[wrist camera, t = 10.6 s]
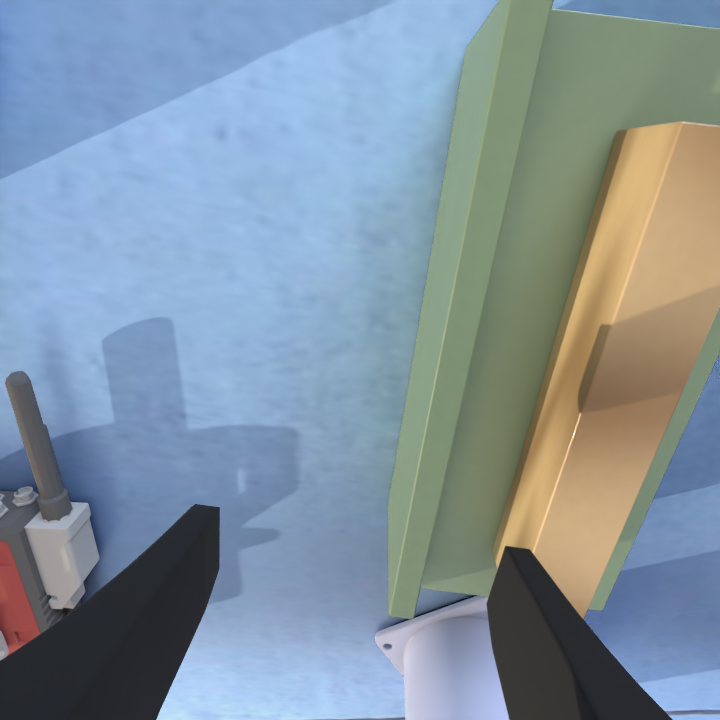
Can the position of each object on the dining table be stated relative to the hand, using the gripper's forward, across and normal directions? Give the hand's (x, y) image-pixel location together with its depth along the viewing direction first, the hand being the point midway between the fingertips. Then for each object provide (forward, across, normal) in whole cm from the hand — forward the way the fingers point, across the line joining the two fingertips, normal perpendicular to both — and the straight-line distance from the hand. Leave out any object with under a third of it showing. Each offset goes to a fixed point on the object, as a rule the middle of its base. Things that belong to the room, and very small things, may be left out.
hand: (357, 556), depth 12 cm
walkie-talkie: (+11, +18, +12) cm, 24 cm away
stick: (+5, -7, -3) cm, 9 cm away
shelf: (+10, -6, -3) cm, 12 cm away
